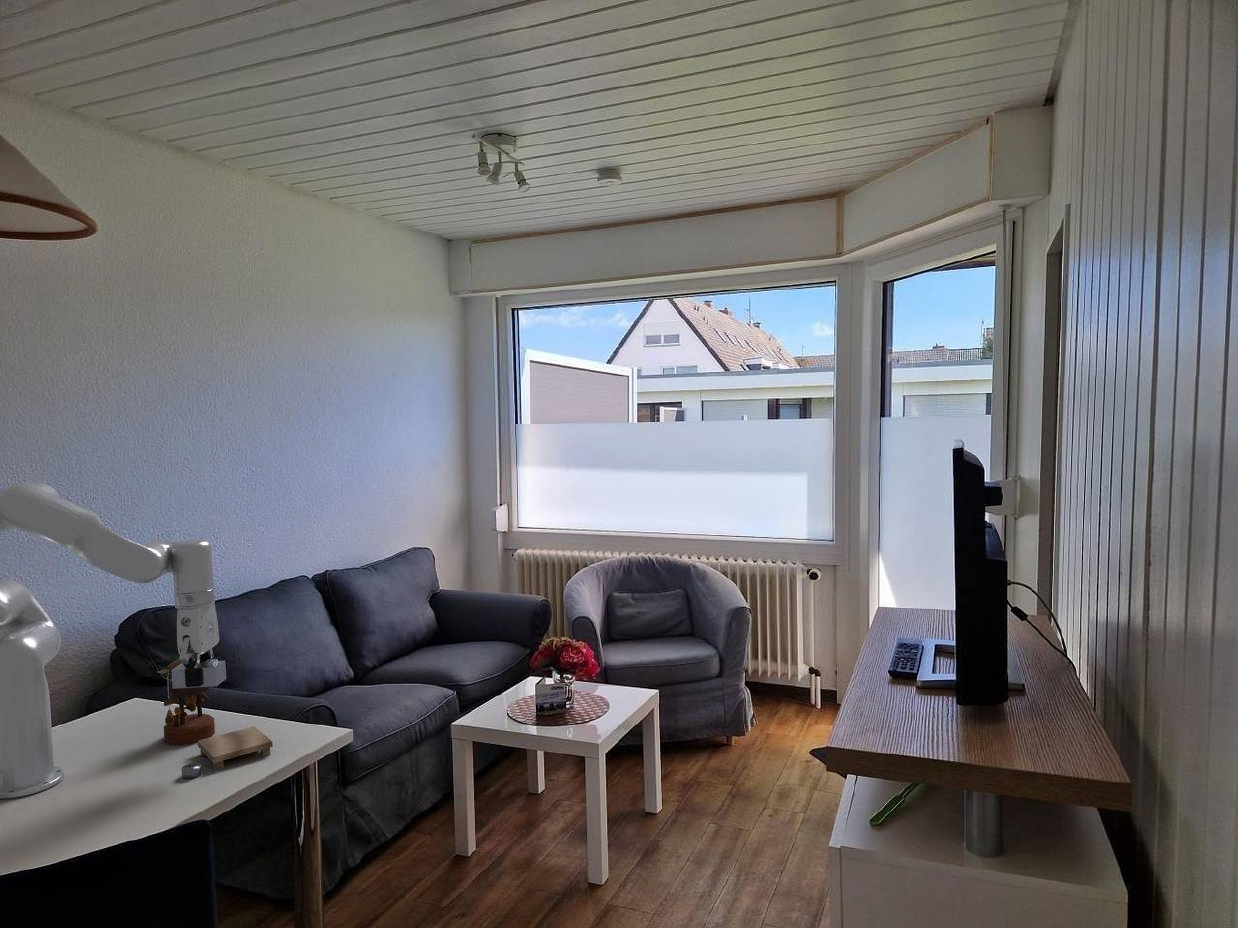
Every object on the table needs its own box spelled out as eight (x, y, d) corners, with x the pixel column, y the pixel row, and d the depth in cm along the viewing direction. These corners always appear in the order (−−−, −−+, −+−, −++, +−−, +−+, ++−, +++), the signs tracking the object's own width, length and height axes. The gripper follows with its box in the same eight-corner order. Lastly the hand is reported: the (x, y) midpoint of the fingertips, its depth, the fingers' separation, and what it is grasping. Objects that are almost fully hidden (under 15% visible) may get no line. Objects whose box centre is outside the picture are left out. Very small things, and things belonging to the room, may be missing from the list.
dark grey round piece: (184, 781, 164) (183, 772, 164) (179, 776, 167) (179, 766, 167) (203, 776, 167) (203, 766, 167) (198, 770, 169) (198, 761, 169)
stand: (213, 771, 169) (213, 757, 169) (198, 753, 178) (197, 740, 178) (272, 754, 177) (272, 741, 177) (254, 738, 186) (254, 726, 186)
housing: (216, 686, 171) (215, 662, 170) (172, 688, 170) (171, 665, 170) (226, 678, 176) (224, 656, 175) (183, 680, 175) (182, 658, 175)
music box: (191, 749, 180) (179, 661, 179) (148, 750, 182) (137, 663, 182) (235, 723, 195) (225, 642, 194) (195, 724, 197) (185, 644, 196)
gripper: (195, 606, 163) (201, 694, 165) (228, 588, 180) (233, 668, 182) (157, 608, 163) (162, 696, 164) (194, 590, 180) (199, 670, 181)
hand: (199, 680), depth 173 cm, fingers closed on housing, 5 cm apart
